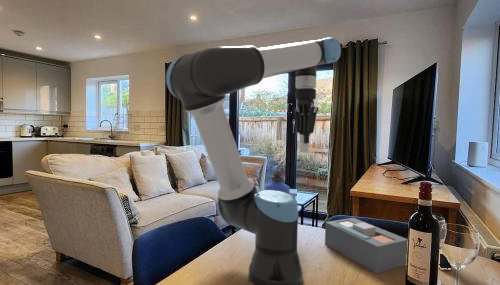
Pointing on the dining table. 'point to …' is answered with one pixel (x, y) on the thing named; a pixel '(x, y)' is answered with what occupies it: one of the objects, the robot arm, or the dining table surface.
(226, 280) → the dining table surface
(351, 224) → the ivory key
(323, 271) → the dining table surface
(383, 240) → the terracotta key
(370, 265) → the grey boxy piece
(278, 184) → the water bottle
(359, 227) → the grey key
